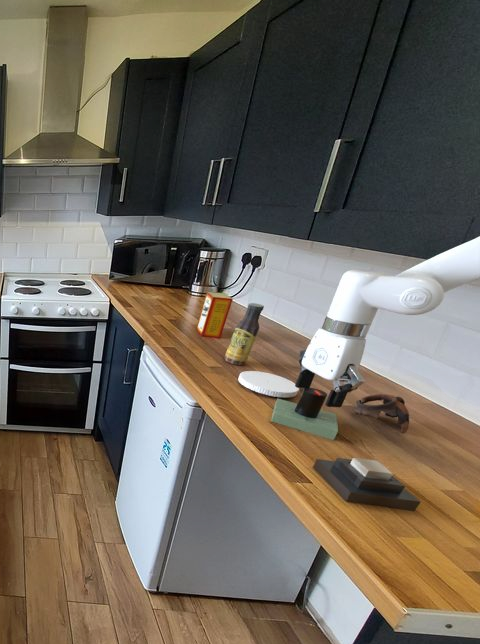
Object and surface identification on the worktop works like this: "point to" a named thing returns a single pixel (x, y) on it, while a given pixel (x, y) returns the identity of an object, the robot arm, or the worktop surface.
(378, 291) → the robot arm
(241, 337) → the sauce bottle
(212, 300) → the baking soda box
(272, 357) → the worktop surface
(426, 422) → the worktop surface
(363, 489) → the tiered square pedestal
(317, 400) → the dial
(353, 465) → the key
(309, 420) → the volume panel
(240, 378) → the plastic lid
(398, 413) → the brown looped piece
